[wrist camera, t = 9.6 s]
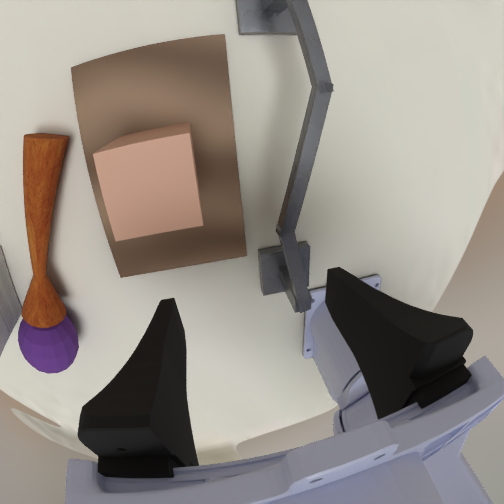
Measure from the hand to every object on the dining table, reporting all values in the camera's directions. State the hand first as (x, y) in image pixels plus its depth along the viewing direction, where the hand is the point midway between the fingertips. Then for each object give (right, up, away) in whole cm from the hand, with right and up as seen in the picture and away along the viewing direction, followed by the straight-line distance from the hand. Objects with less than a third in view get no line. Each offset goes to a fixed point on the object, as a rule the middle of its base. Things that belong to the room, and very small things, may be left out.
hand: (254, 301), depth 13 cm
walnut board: (-6, +8, +5) cm, 11 cm away
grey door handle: (+2, +10, +6) cm, 11 cm away
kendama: (-17, +2, +7) cm, 18 cm away
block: (-6, +8, +4) cm, 11 cm away
